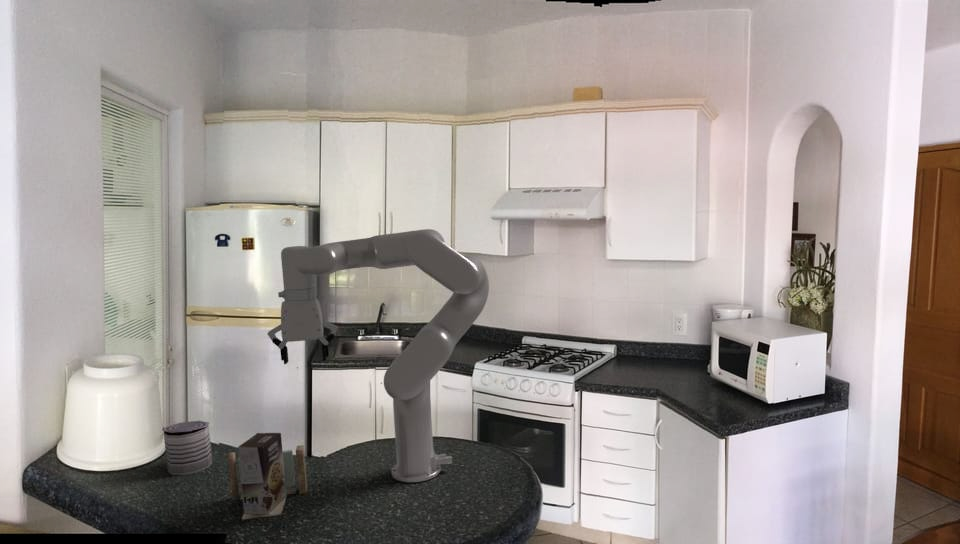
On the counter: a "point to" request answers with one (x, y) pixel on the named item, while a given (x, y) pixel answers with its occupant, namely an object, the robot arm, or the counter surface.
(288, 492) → the frame
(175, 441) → the can
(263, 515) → the board
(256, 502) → the coffee box
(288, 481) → the door
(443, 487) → the counter surface
